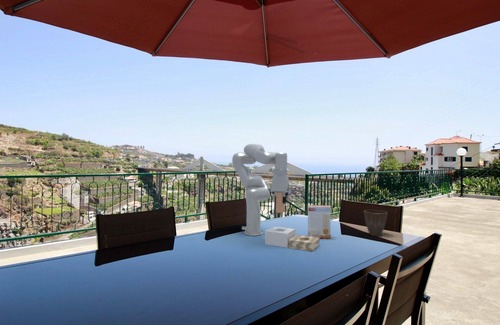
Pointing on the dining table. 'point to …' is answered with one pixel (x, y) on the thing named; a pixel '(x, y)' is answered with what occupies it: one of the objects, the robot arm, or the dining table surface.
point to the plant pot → (375, 221)
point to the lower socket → (304, 242)
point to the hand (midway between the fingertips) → (280, 202)
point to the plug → (280, 203)
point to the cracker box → (319, 221)
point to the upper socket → (279, 236)
